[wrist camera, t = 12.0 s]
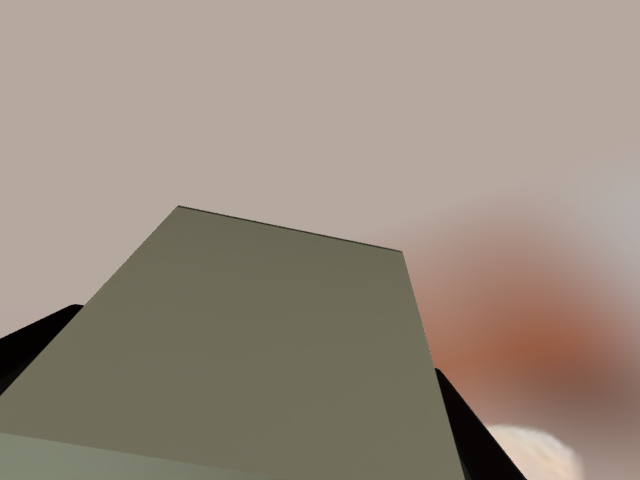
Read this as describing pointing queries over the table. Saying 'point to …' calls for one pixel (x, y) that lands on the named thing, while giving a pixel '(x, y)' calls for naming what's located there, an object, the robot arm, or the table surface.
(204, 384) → the block
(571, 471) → the table surface
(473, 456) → the robot arm
